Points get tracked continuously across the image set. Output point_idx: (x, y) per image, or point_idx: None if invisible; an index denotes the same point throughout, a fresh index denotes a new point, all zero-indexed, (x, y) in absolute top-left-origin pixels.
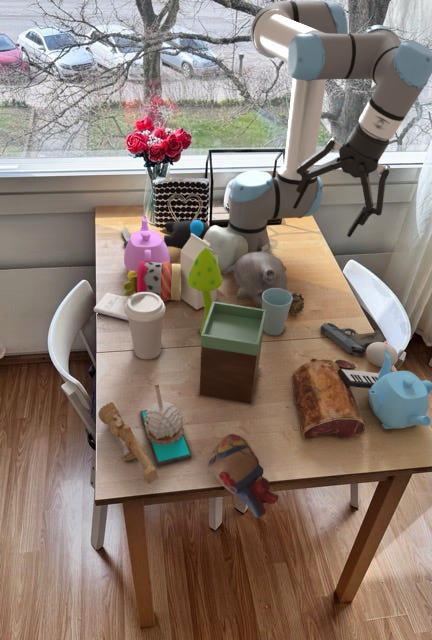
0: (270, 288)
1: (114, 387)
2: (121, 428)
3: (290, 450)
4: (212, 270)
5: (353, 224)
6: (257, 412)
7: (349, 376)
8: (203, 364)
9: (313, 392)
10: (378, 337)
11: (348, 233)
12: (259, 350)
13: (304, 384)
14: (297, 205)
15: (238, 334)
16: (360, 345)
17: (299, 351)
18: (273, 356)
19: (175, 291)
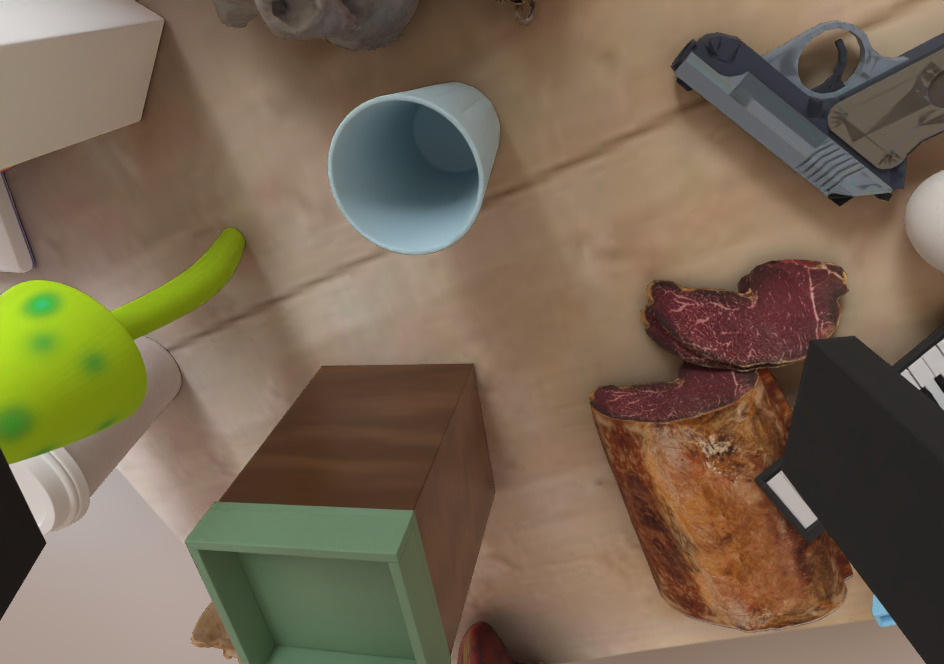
0: (344, 35)
1: (168, 497)
2: None
3: (633, 598)
4: (54, 441)
5: (881, 532)
6: (521, 511)
7: (803, 500)
8: None
9: (671, 539)
10: None
11: (799, 493)
12: (449, 526)
13: (637, 495)
14: (15, 586)
15: (354, 602)
16: (881, 168)
17: (595, 234)
18: (504, 289)
19: None
